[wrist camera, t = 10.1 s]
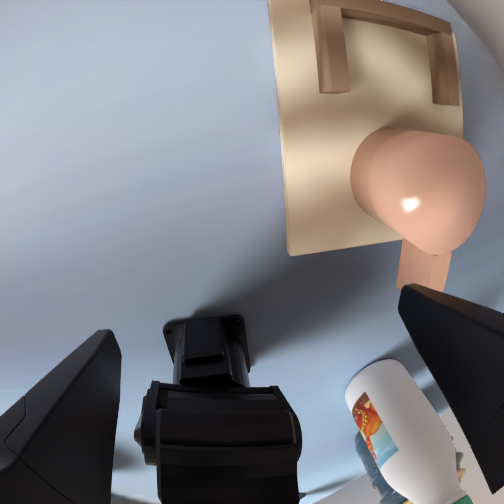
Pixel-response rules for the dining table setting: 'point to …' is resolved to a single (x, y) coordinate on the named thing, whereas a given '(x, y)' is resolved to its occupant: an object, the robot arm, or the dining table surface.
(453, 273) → the dining table surface
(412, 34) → the cradle
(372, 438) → the milk bottle
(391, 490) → the canister
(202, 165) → the dining table surface
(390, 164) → the peach dome with handle
